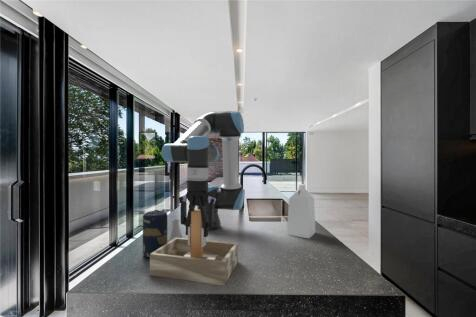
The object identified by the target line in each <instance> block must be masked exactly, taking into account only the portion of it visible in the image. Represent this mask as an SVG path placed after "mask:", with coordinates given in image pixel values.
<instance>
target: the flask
mask: <svg viewBox="0 0 476 317" xmlns="http://www.w3.org/2000/svg"><path fill="white" fill-rule="evenodd" d="M179 221H180V219H179V218H178V219H177V218H175V219H172V220H171V222H172V224H171V229H170V231H169V235H168V236H167V243H168V242H169V241H171V240H173V239H174V238H184V237H183V235H182V233H181V230H180V225H179Z"/></svg>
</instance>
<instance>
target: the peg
mask: <svg viewBox="0 0 476 317" xmlns="http://www.w3.org/2000/svg"><path fill="white" fill-rule="evenodd" d="M201 228H203V222H202V217H201V211H200V210H197V209H194V210H193V211H191V252H190V256H191V257H193V258H200V257H202V256H203V247H201Z"/></svg>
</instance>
